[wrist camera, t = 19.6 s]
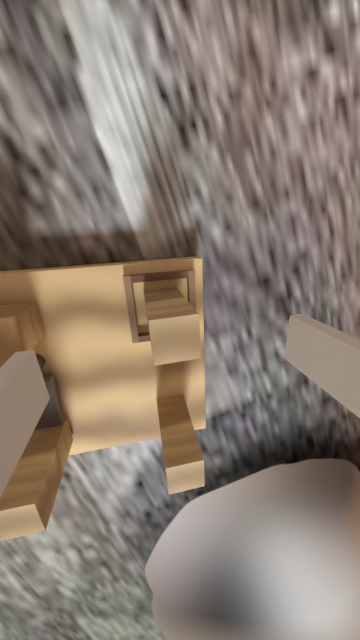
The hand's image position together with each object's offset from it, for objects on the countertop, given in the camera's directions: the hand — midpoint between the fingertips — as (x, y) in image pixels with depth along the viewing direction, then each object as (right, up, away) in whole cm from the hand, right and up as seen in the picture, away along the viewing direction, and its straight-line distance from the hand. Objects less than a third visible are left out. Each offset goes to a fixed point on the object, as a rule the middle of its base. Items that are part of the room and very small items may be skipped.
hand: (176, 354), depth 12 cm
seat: (-8, -2, +13) cm, 15 cm away
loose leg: (-2, +3, +9) cm, 10 cm away
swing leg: (-13, -6, +10) cm, 17 cm away
